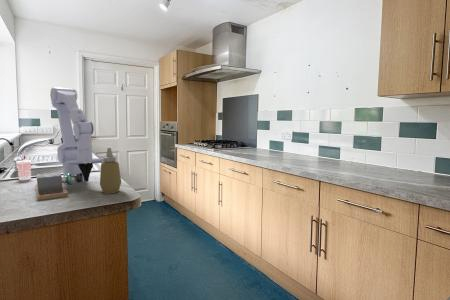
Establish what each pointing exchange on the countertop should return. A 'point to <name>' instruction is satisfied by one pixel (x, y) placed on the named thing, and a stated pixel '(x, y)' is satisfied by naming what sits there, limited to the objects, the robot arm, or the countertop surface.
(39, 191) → the sharpening stone
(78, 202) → the countertop surface
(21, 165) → the beverage cup
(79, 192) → the countertop surface
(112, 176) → the squeeze bottle
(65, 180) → the shaft
